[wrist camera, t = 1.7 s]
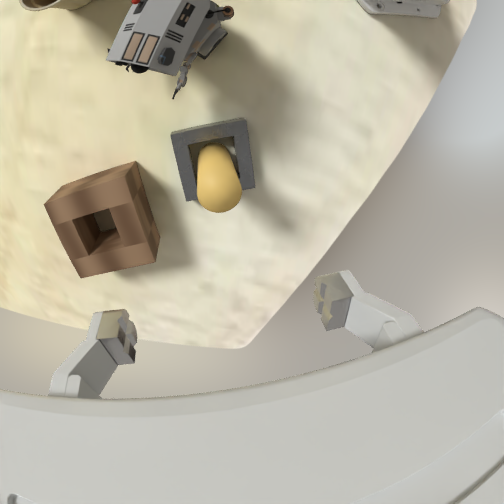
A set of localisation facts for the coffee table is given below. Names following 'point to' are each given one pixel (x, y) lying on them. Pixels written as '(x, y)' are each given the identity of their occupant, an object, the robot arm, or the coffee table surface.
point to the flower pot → (52, 4)
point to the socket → (123, 213)
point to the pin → (217, 179)
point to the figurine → (168, 35)
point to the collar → (210, 132)
